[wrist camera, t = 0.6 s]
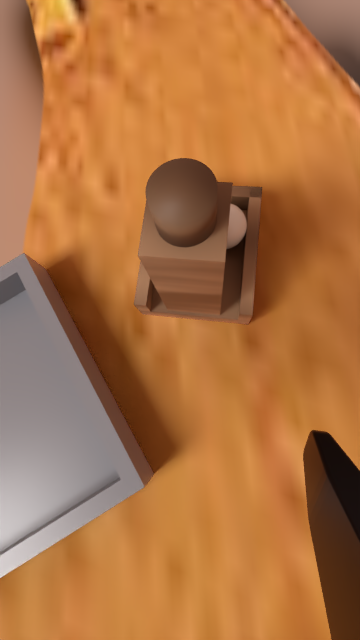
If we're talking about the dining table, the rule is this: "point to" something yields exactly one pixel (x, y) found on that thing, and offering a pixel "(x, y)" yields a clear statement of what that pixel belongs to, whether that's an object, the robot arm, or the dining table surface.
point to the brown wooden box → (196, 246)
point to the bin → (54, 422)
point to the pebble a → (236, 226)
